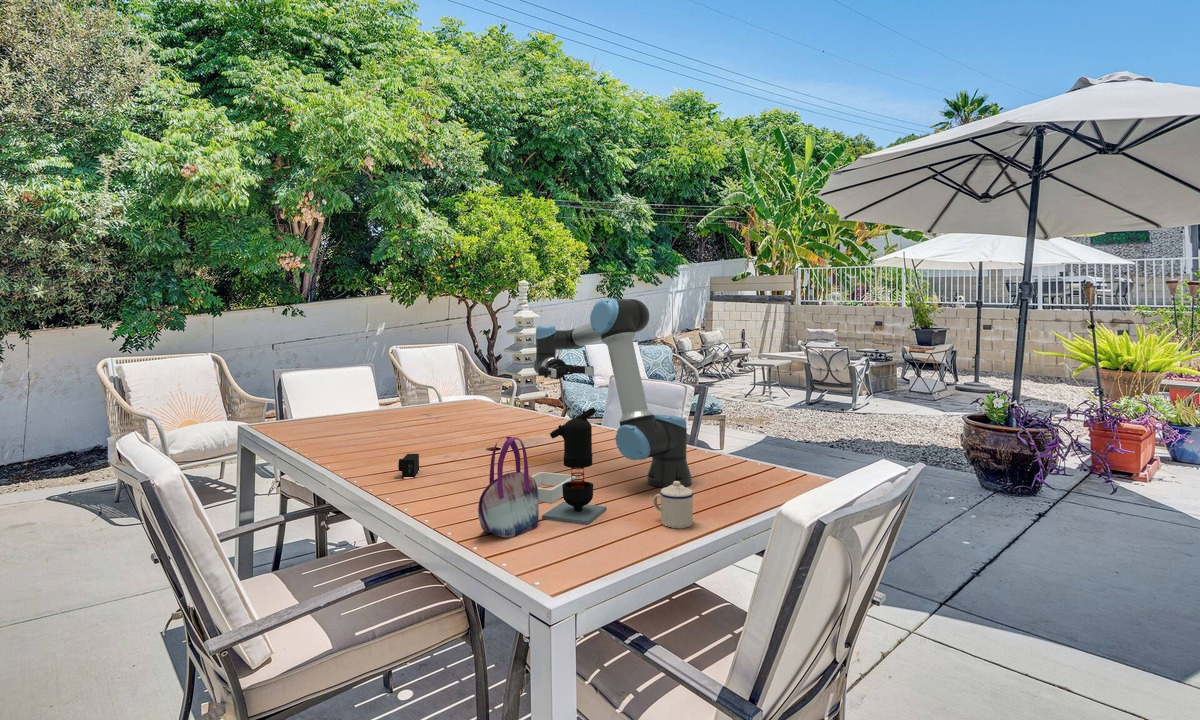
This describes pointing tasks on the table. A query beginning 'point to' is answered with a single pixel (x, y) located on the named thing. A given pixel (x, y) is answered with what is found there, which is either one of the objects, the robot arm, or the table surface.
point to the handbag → (509, 497)
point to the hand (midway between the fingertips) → (574, 372)
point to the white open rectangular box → (553, 480)
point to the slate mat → (574, 513)
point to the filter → (577, 458)
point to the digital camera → (409, 465)
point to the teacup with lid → (675, 506)
